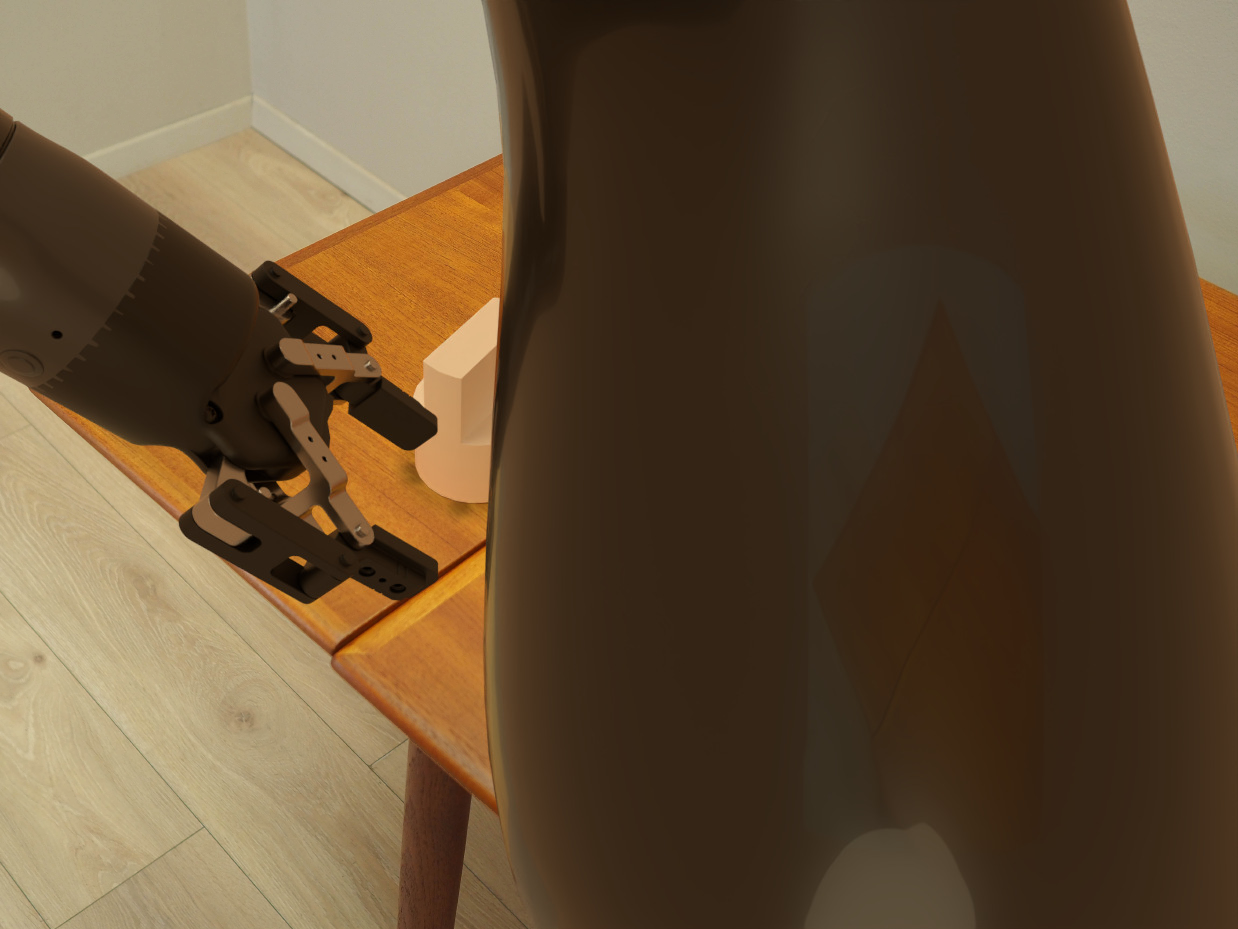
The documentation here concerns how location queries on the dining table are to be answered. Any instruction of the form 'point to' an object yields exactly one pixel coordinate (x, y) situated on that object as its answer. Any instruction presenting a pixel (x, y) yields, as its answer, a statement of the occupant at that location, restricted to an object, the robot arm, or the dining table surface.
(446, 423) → the cylinder with rectangular tab
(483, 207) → the dining table surface
